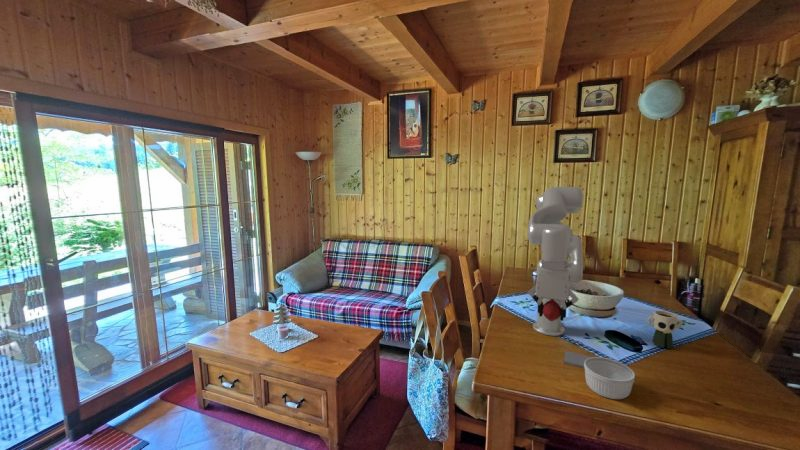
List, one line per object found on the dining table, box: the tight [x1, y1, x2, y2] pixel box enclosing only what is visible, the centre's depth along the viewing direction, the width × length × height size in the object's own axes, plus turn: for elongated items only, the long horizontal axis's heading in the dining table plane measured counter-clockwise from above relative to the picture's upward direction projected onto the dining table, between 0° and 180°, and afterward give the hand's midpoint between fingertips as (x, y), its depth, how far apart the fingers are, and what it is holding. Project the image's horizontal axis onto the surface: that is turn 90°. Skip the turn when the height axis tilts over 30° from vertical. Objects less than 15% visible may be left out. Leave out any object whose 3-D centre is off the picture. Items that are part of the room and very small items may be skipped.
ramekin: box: [583, 356, 636, 400], centre depth 101 cm, size 13×13×7 cm
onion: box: [542, 299, 561, 321], centre depth 108 cm, size 6×6×8 cm
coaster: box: [563, 350, 591, 369], centre depth 117 cm, size 8×8×1 cm
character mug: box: [646, 309, 683, 349], centre depth 125 cm, size 11×7×13 cm, turn 67°
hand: (551, 316), depth 108 cm, fingers closed on onion, 5 cm apart
